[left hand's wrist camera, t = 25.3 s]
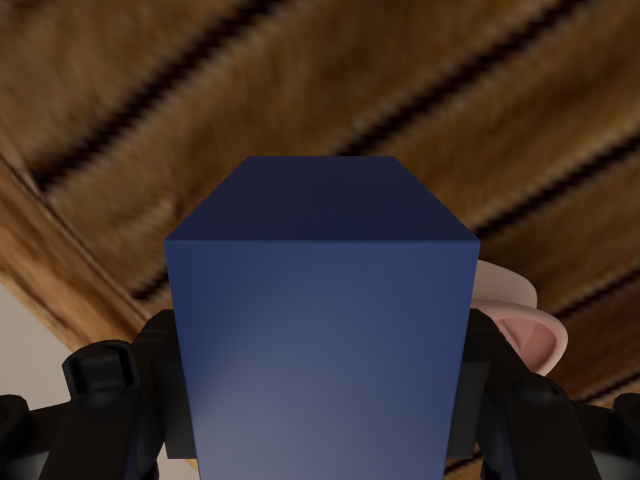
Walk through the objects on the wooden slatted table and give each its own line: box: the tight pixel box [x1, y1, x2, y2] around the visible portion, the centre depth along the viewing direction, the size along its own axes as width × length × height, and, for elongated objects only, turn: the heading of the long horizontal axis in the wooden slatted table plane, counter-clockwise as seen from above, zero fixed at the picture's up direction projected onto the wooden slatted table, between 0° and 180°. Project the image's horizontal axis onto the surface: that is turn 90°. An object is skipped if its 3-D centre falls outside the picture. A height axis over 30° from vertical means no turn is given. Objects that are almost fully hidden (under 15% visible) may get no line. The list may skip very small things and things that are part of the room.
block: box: [163, 156, 480, 480], centre depth 12 cm, size 8×6×9 cm, turn 0°
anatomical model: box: [470, 260, 568, 376], centre depth 25 cm, size 13×4×12 cm
